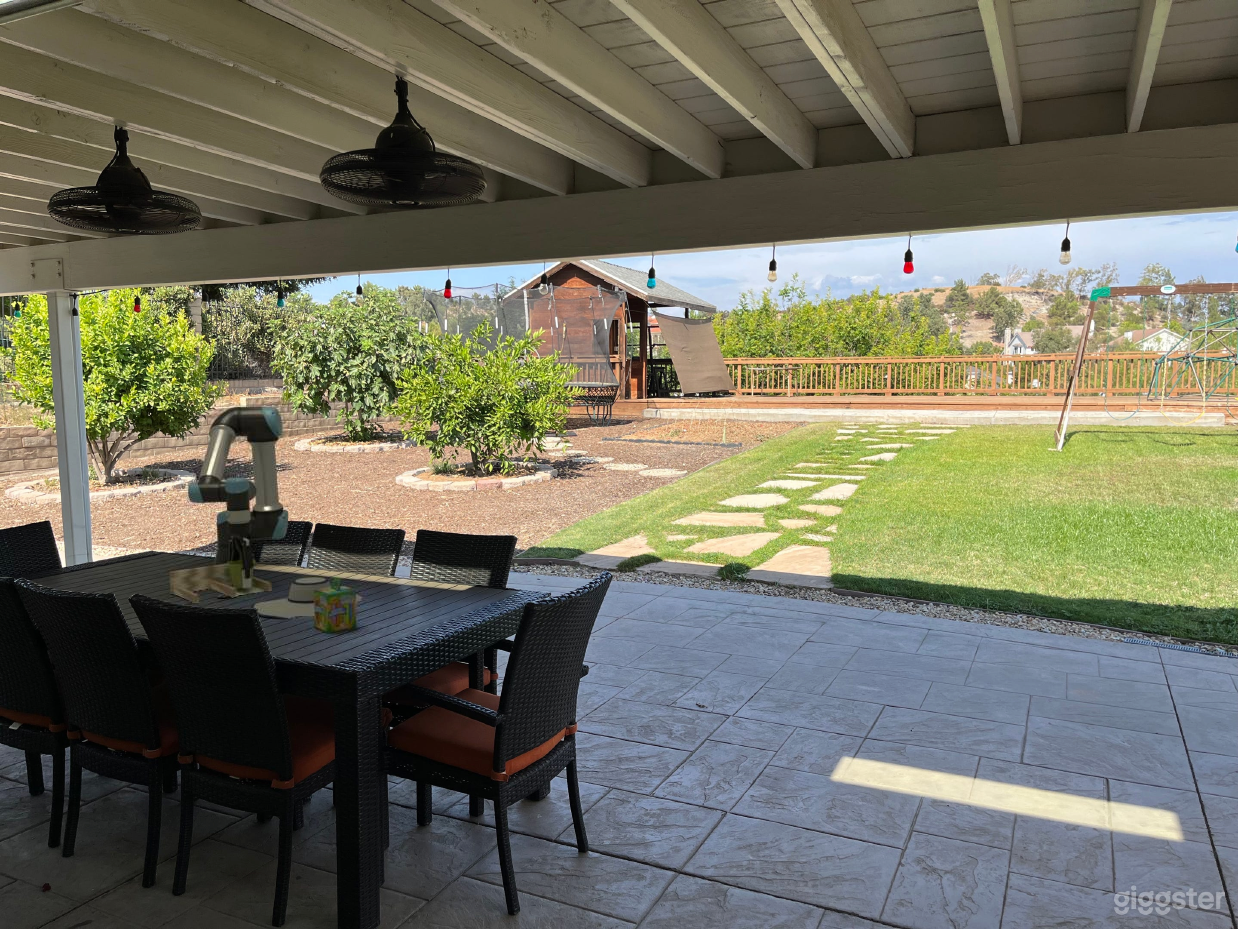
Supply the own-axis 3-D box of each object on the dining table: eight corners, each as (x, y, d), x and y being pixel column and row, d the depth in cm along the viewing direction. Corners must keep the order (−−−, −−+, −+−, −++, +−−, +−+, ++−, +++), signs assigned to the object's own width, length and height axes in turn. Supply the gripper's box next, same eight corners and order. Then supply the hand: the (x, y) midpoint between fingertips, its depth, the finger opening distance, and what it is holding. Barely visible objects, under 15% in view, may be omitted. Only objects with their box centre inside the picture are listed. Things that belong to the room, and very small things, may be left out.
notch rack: (248, 582, 318) (247, 560, 317) (273, 591, 303) (272, 568, 303) (170, 594, 299) (169, 572, 298) (193, 604, 284) (192, 580, 283)
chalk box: (313, 627, 255) (312, 578, 254) (342, 622, 261) (341, 573, 260) (328, 634, 248) (326, 583, 247) (357, 627, 255) (356, 578, 254)
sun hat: (255, 627, 259) (254, 597, 258) (247, 602, 291) (245, 575, 290) (378, 612, 275) (377, 584, 274) (357, 589, 307) (356, 564, 306)
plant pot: (227, 590, 298) (225, 565, 297) (228, 584, 307) (227, 560, 306) (256, 587, 302) (255, 563, 301) (256, 582, 310) (255, 558, 310)
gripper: (216, 520, 307) (218, 582, 309) (240, 526, 292) (243, 592, 294) (237, 517, 312) (240, 579, 314) (262, 523, 298) (265, 588, 300)
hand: (241, 585), depth 304 cm, fingers closed on plant pot, 8 cm apart
